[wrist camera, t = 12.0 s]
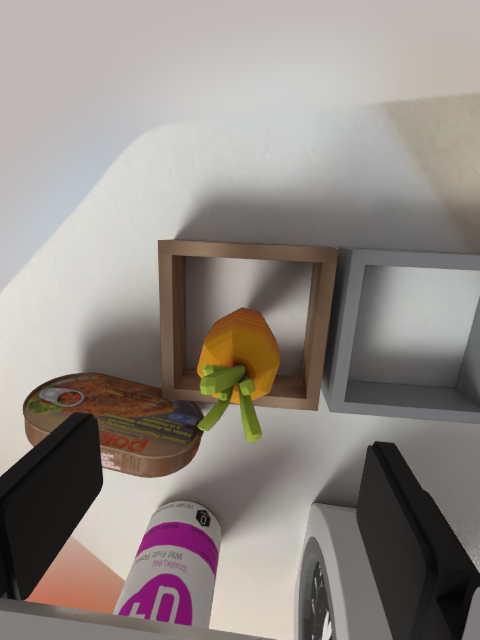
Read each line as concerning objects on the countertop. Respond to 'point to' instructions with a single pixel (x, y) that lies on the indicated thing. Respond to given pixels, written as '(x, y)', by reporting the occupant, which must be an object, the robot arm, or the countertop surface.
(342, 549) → the alarm clock
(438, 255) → the charcoal bin
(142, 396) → the tin
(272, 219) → the countertop surface
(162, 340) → the frame
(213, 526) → the supplement can
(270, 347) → the carrot
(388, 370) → the countertop surface
